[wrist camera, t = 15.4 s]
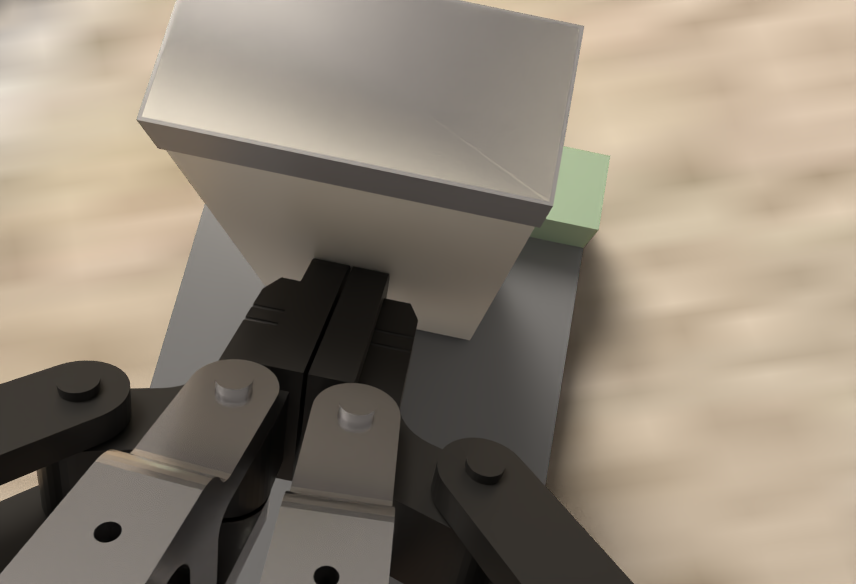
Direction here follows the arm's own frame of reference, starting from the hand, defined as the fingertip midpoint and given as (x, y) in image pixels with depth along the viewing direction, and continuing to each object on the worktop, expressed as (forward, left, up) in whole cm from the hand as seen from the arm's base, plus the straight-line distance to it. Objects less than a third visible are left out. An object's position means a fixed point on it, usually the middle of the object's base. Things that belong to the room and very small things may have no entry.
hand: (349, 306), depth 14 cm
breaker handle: (+1, -2, -4) cm, 4 cm away
